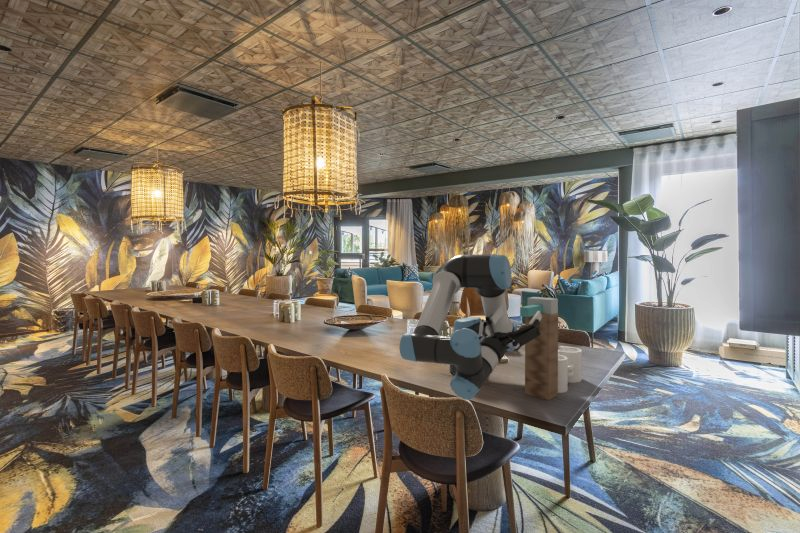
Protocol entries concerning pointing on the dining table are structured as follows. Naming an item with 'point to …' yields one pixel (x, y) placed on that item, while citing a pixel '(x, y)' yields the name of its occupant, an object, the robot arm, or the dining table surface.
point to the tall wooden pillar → (542, 359)
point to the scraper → (539, 306)
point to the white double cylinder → (569, 366)
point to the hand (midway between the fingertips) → (520, 312)
